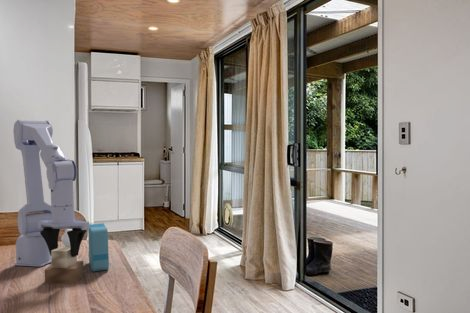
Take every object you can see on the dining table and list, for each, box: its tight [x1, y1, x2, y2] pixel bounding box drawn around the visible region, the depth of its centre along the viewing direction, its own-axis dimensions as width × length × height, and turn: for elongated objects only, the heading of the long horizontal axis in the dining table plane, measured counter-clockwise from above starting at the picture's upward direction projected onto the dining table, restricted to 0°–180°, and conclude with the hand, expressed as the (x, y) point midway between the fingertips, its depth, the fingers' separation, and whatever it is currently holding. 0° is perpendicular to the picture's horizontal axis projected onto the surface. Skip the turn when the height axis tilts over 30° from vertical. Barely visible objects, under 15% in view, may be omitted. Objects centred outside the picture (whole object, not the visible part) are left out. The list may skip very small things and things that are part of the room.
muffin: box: [60, 229, 72, 247], centre depth 145 cm, size 6×6×7 cm
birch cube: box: [50, 246, 78, 268], centre depth 111 cm, size 4×4×4 cm
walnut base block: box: [44, 260, 85, 285], centre depth 111 cm, size 8×7×4 cm
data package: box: [87, 222, 110, 272], centre depth 122 cm, size 12×4×12 cm, turn 24°
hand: (64, 255), depth 111 cm, fingers open, 6 cm apart
